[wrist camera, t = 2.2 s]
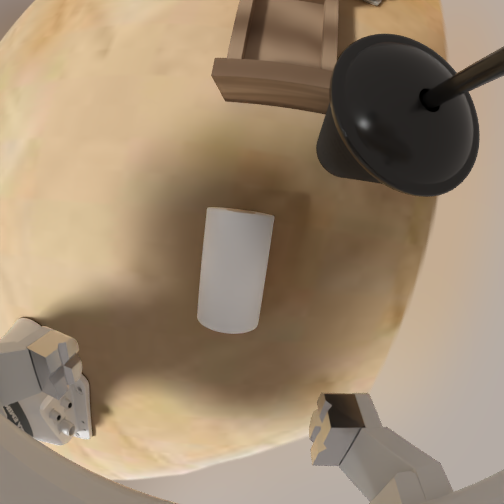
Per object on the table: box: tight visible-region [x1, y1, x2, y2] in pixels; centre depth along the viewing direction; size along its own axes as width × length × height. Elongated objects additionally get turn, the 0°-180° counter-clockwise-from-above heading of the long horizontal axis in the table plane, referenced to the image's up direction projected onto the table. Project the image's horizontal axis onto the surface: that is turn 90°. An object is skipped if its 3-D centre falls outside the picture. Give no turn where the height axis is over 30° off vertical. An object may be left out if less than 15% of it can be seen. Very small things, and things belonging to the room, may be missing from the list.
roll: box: [197, 207, 275, 334], centre depth 22 cm, size 9×5×5 cm, turn 172°
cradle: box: [211, 0, 338, 114], centre depth 18 cm, size 14×9×6 cm, turn 172°
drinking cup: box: [316, 34, 504, 197], centre depth 13 cm, size 8×8×20 cm
